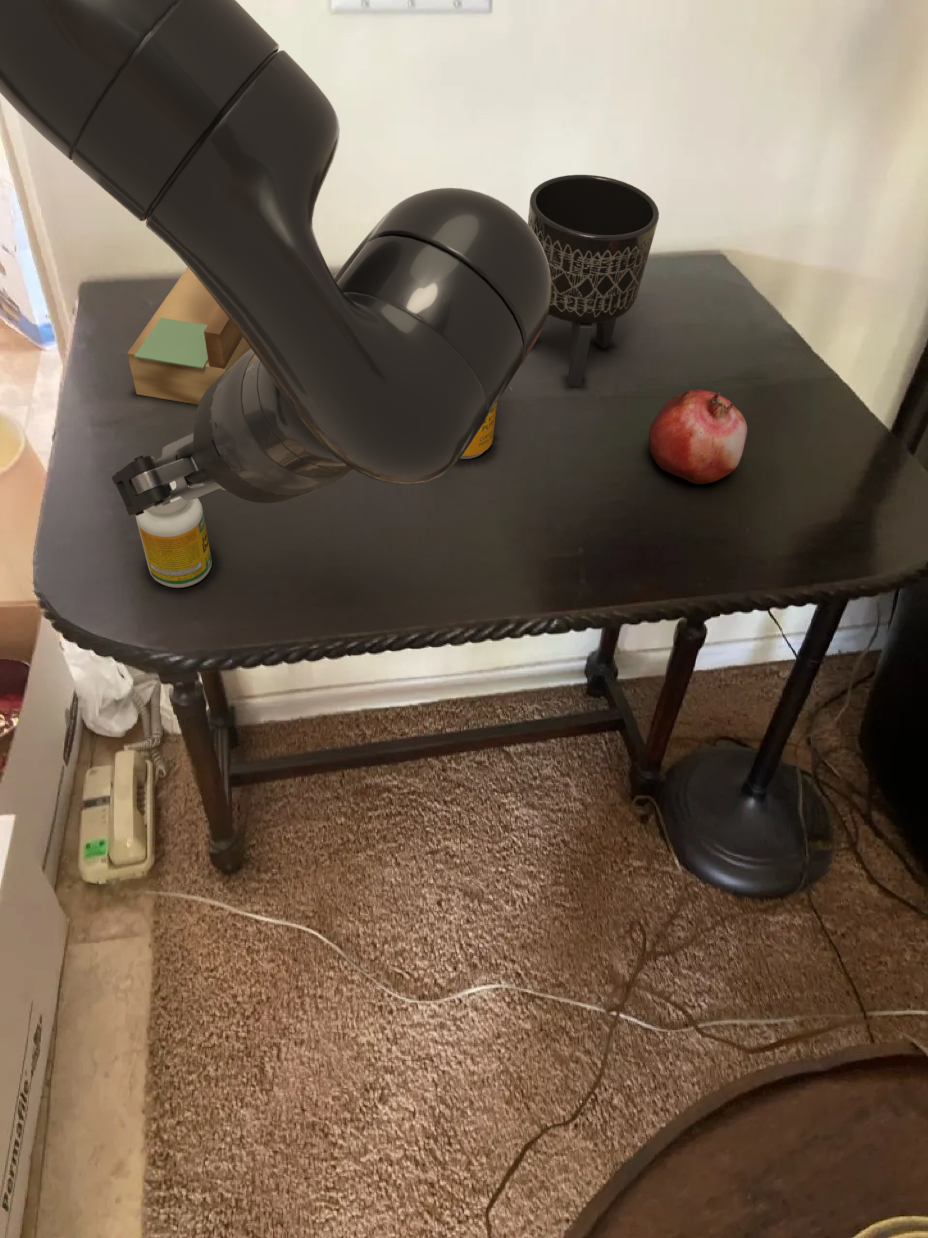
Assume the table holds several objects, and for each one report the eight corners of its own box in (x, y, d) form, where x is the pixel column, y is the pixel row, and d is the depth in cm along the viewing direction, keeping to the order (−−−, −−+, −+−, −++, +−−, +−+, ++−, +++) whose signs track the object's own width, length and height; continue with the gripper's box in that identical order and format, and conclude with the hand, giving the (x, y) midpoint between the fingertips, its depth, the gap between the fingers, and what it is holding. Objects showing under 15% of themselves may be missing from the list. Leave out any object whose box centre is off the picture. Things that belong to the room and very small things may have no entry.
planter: (633, 392, 106) (671, 239, 92) (517, 390, 105) (537, 235, 91) (614, 325, 114) (646, 175, 101) (505, 322, 113) (523, 171, 99)
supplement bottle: (142, 555, 85) (121, 472, 78) (202, 539, 87) (187, 456, 80) (158, 597, 82) (137, 515, 75) (220, 580, 84) (206, 498, 77)
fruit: (636, 436, 101) (658, 354, 93) (726, 441, 101) (754, 360, 94) (647, 496, 95) (671, 413, 87) (742, 501, 96) (774, 419, 88)
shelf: (134, 397, 99) (116, 320, 92) (203, 292, 113) (192, 218, 106) (228, 413, 99) (218, 336, 92) (286, 305, 112) (281, 232, 105)
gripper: (375, 310, 52) (284, 378, 66) (120, 395, 46) (82, 449, 60) (428, 443, 53) (328, 481, 68) (188, 542, 47) (134, 560, 62)
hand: (212, 466), depth 64 cm, fingers open, 8 cm apart
